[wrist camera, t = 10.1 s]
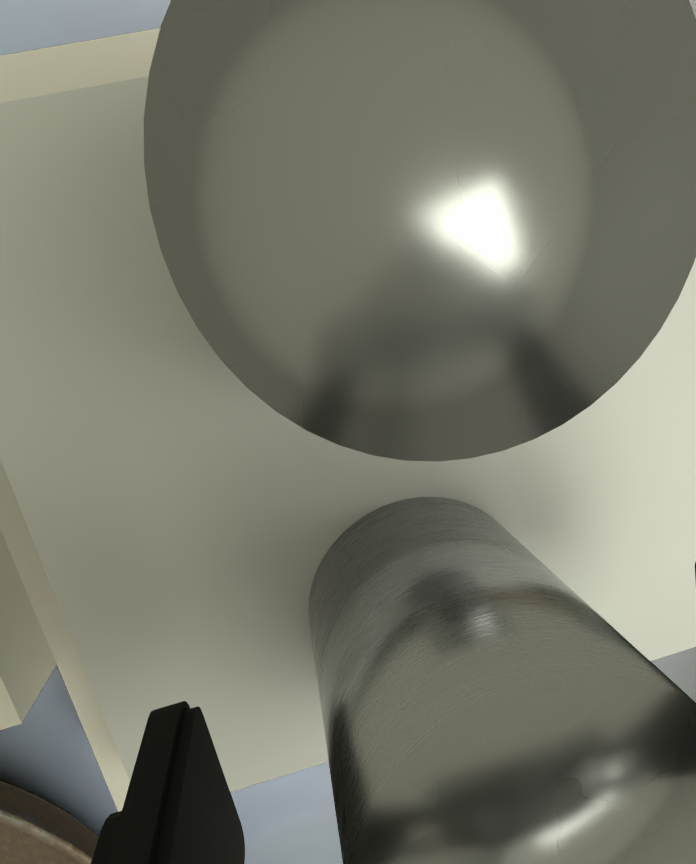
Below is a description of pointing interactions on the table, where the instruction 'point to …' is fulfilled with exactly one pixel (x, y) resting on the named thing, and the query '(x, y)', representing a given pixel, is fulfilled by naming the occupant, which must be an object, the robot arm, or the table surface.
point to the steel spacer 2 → (489, 705)
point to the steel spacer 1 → (425, 205)
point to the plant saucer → (40, 831)
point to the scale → (243, 462)
